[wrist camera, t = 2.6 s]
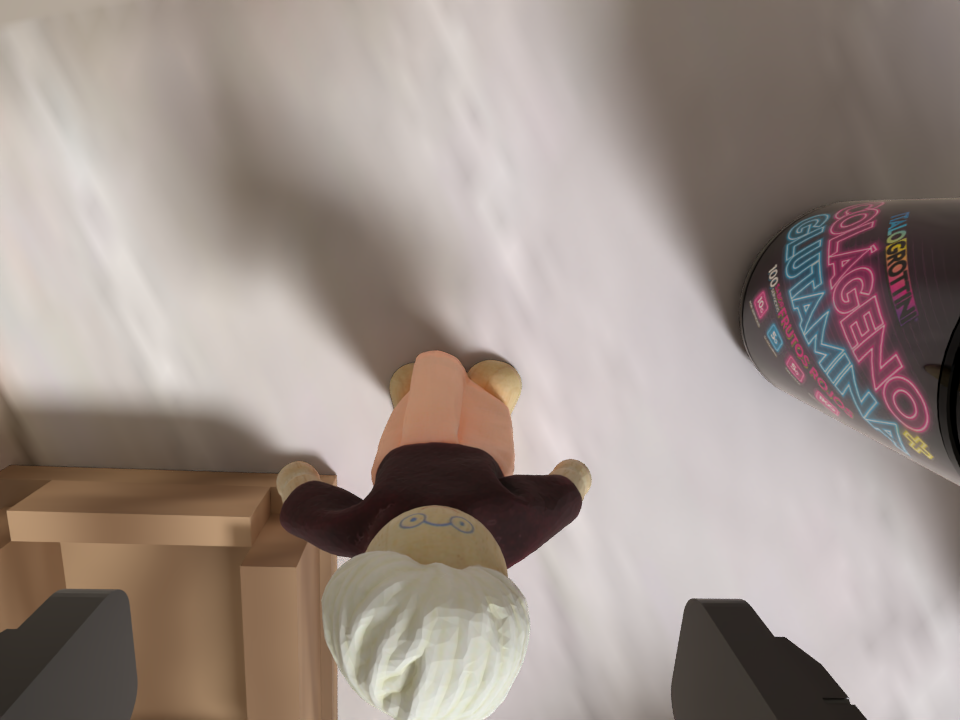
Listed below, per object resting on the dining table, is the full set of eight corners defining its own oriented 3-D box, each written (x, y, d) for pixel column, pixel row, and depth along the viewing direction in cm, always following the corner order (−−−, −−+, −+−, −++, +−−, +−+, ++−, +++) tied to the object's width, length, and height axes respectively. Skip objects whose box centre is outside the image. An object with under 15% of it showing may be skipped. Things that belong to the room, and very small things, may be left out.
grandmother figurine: (541, 324, 19) (694, 514, 7) (557, 429, 20) (716, 756, 8) (315, 365, 19) (82, 628, 7) (342, 469, 20) (179, 856, 8)
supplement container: (849, 153, 19) (1321, 84, 8) (960, 301, 20) (1476, 393, 10) (688, 301, 20) (941, 396, 9) (805, 432, 21) (1132, 637, 11)
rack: (336, 475, 20) (309, 537, 17) (337, 749, 23) (314, 855, 19) (10, 465, 20) (-98, 526, 16) (53, 747, 23) (-29, 858, 19)
